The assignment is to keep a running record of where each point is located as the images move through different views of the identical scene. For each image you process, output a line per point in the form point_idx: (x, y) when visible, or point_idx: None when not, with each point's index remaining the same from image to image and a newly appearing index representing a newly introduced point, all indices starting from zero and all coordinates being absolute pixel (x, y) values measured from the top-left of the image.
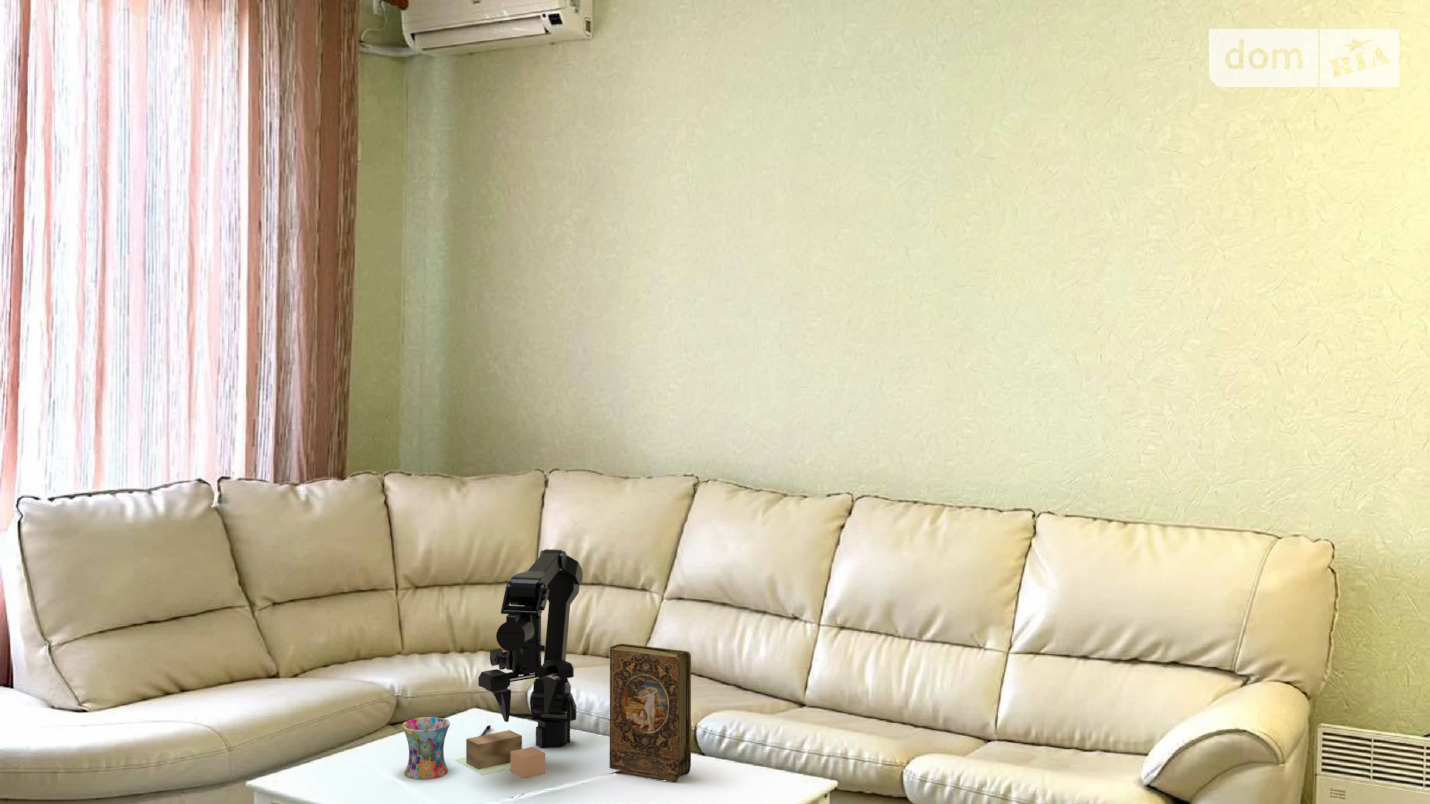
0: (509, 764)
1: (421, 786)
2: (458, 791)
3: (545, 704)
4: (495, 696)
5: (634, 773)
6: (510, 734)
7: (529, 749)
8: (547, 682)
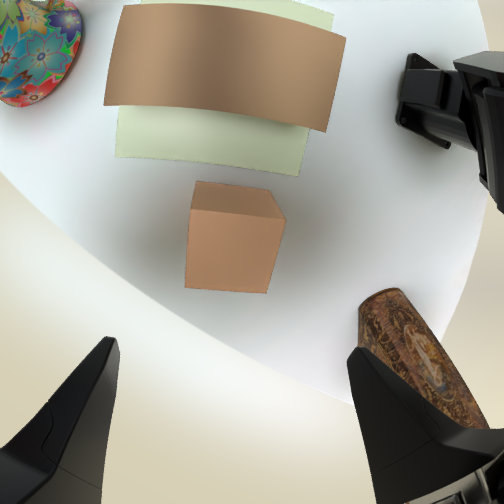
0: (236, 128)
1: (3, 117)
2: (42, 198)
3: (370, 384)
4: (15, 447)
5: (359, 341)
6: (306, 80)
7: (256, 237)
8: (426, 474)
